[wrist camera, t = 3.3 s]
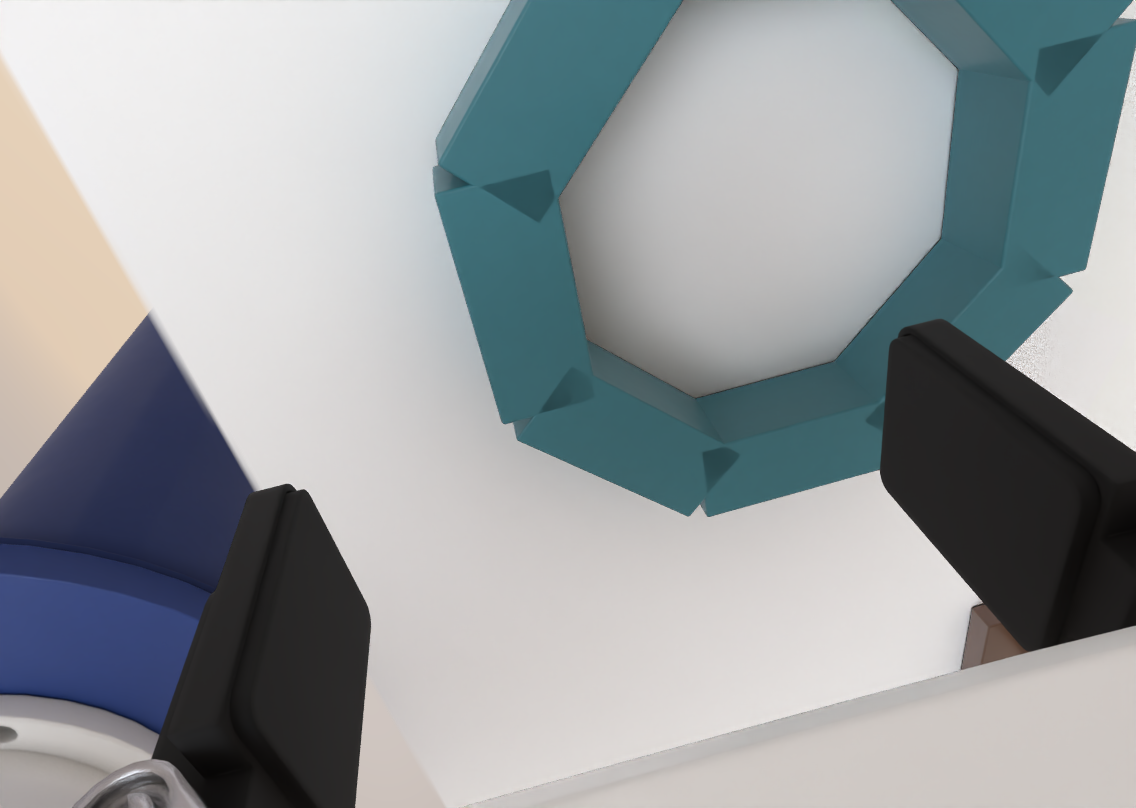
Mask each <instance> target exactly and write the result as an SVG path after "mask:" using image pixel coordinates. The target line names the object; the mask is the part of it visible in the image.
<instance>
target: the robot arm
mask: <svg viewBox="0 0 1136 808" xmlns="http://www.w3.org/2000/svg"><path fill="white" fill-rule="evenodd" d="M880 475H881V479H882V482H883V484H884V486H885V488H886V490H887V491H888V493H889V494H890V495H891V496H892V497H893V498H894V500H895V501H896V502H897V503H898V504H899V505H900V507H901V508H902V509H903V510H904V511H905V512H906V513H907V515H908V516H909V517H910V518H911V519H912V520H913V522H914V523H915V524H916V525H917V526H918V527H919V529H920V530H921V531H922V532H923V533H924V534H925V536H926V537H927V538H928V539H929V540H930V541H931V542H932V544H933V545H934V546H935V547H936V548H937V549H938V551H939V552H940V553H941V554H942V555H943V556H944V558H945V559H946V560H947V561H948V562H949V563H950V564H951V566H952V567H953V568H954V569H955V570H956V571H957V573H958V574H959V575H960V576H961V577H962V578H963V580H964V581H965V582H966V583H967V584H968V585H969V587H970V588H971V589H972V590H973V591H974V592H975V593H976V595H977V596H978V597H979V598H980V599H981V600H982V602H983V603H984V604H985V605H986V606H987V607H988V609H989V610H990V611H991V612H992V613H993V614H994V615H995V617H996V618H997V619H998V620H999V621H1000V622H1001V624H1002V625H1003V626H1004V627H1005V628H1006V629H1007V631H1008V632H1009V633H1010V634H1011V635H1012V636H1013V638H1014V639H1015V640H1016V641H1017V642H1018V643H1019V644H1020V645H1021V646H1022V647H1023V648H1024V649H1025V650H1026V651H1028V653H1024V654H1020V655H1017V656H1013V657H1009V658H1005V659H1002V660H998V661H994V662H990V663H987V664H983V665H979V666H975V667H972V668H968V669H964V670H961V671H957V672H953V673H949V674H946V675H942V676H938V677H934V678H931V679H927V680H923V681H919V682H916V683H912V684H908V685H904V686H901V687H897V688H893V689H889V690H886V691H882V692H878V693H874V694H871V695H867V696H863V697H859V698H856V699H852V700H848V701H845V702H841V703H837V704H834V705H830V706H826V707H823V708H819V709H815V710H811V711H808V712H804V713H800V714H797V715H793V716H789V717H786V718H782V719H778V720H775V721H771V722H767V723H764V724H760V725H756V726H753V727H749V728H745V729H742V730H738V731H734V732H731V733H727V734H723V735H720V736H716V737H712V738H709V739H705V740H701V741H698V742H694V743H691V744H687V745H683V746H680V747H676V748H672V749H669V750H665V751H661V752H658V753H654V754H650V755H647V756H643V757H639V758H636V759H632V760H629V761H625V762H621V763H618V764H614V765H611V766H607V767H603V768H600V769H596V770H593V771H589V772H585V773H582V774H578V775H575V776H571V777H568V778H564V779H560V780H557V781H553V782H550V783H546V784H542V785H539V786H535V787H532V788H528V789H524V790H521V791H517V792H514V793H510V794H506V795H503V796H499V797H496V798H492V799H489V800H485V801H481V802H478V803H474V804H471V805H467V806H463V807H460V808H1136V452H1135V451H1133V450H1132V449H1130V448H1129V447H1127V446H1126V445H1125V444H1123V443H1122V442H1120V441H1119V440H1117V439H1116V438H1114V437H1113V436H1112V435H1110V434H1109V433H1107V432H1106V431H1104V430H1103V429H1102V428H1100V427H1099V426H1097V425H1096V424H1094V423H1093V422H1091V421H1090V420H1089V419H1087V418H1086V417H1084V416H1083V415H1081V414H1080V413H1079V412H1077V411H1076V410H1074V409H1073V408H1071V407H1070V406H1068V405H1067V404H1066V403H1064V402H1063V401H1061V400H1060V399H1058V398H1057V397H1056V396H1054V395H1053V394H1051V393H1050V392H1048V391H1047V390H1046V389H1044V388H1043V387H1041V386H1040V385H1038V384H1037V383H1035V382H1034V381H1033V380H1031V379H1030V378H1028V377H1027V376H1025V375H1024V374H1023V373H1021V372H1020V371H1018V370H1017V369H1015V368H1014V367H1012V366H1011V365H1010V364H1008V363H1007V362H1005V361H1004V360H1002V359H1001V358H1000V357H998V356H997V355H995V354H994V353H992V352H991V351H989V350H988V349H987V348H985V347H984V346H982V345H981V344H979V343H978V342H977V341H975V340H974V339H972V338H971V337H969V336H968V335H966V334H965V333H964V332H962V331H961V330H959V329H958V328H956V327H955V326H954V325H952V324H951V323H949V322H948V321H946V320H944V319H934V320H930V321H926V322H922V323H918V324H915V325H911V326H907V327H904V328H903V329H901V330H900V332H899V334H898V338H896V339H894V340H892V341H891V343H890V346H889V355H888V368H887V381H886V394H885V408H884V421H883V434H882V448H881V461H880ZM370 632H371V619H370V613H369V609H368V606H367V604H366V602H365V600H364V598H363V596H362V594H361V592H360V590H359V588H358V586H357V584H356V582H355V580H354V579H353V577H352V575H351V573H350V571H349V569H348V567H347V565H346V563H345V561H344V559H343V557H342V556H341V554H340V552H339V550H338V548H337V546H336V544H335V542H334V540H333V538H332V536H331V534H330V533H329V531H328V529H327V527H326V525H325V523H324V521H323V519H322V517H321V515H320V513H319V511H318V510H317V508H316V506H315V504H314V502H313V500H312V498H311V496H310V495H309V493H308V492H307V491H306V490H299V491H296V489H295V488H294V487H293V486H292V485H291V484H284V485H280V486H276V487H272V488H268V489H264V490H260V491H256V492H253V493H251V494H249V496H248V498H247V500H246V503H245V506H244V509H243V512H242V515H241V518H240V521H239V524H238V527H237V530H236V532H235V535H234V538H233V541H232V544H231V547H230V550H229V553H228V556H227V559H226V562H225V565H224V568H223V571H222V574H221V577H220V580H219V582H218V585H217V588H216V591H214V592H213V593H212V594H211V595H210V596H209V598H208V600H207V602H206V604H205V606H204V609H203V612H202V615H201V618H200V620H199V623H198V626H197V629H196V632H195V635H194V638H193V641H192V643H191V646H190V649H189V652H188V655H187V658H186V661H185V663H184V666H183V669H182V672H181V675H180V678H179V681H178V683H177V686H176V689H175V692H174V695H173V698H172V701H171V703H170V706H169V709H168V712H167V715H166V718H165V721H164V724H163V726H162V729H161V732H160V735H159V734H157V733H155V732H154V731H152V730H150V729H148V728H146V727H145V726H143V725H141V724H139V723H137V722H136V721H133V720H131V719H128V718H125V717H123V716H120V715H117V714H115V713H112V712H110V711H107V710H104V709H101V708H97V707H93V706H88V705H84V704H80V703H76V702H72V701H68V700H62V699H54V698H46V697H39V696H31V695H11V694H0V808H355V801H356V788H357V777H358V767H359V756H360V745H361V733H362V722H363V711H364V699H365V688H366V677H367V666H368V654H369V643H370Z"/></svg>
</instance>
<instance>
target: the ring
mask: <svg viewBox="0 0 1136 808" xmlns="http://www.w3.org/2000/svg"><path fill="white" fill-rule="evenodd" d="M891 1H892V2H893V3H894V4H895V5H896V6H897V7H898V8H899V9H900V10H901V11H902V12H903V13H904V14H905V15H906V16H907V17H908V18H909V19H910V20H911V21H912V22H913V23H914V24H915V25H916V26H917V27H918V28H919V29H920V30H921V31H922V32H923V33H924V34H925V35H926V36H927V37H928V38H929V39H930V41H931V42H932V43H933V44H934V45H935V46H936V47H937V48H938V49H939V50H940V51H941V52H942V53H943V54H944V55H945V56H946V57H947V58H948V59H949V60H950V61H951V62H952V63H953V64H954V65H955V66H956V67H957V68H958V69H959V71H958V81H957V91H956V101H955V111H954V120H953V130H952V140H951V150H950V160H949V169H948V179H947V189H946V199H945V209H944V218H943V228H942V238H941V239H940V240H939V242H938V243H937V244H936V245H935V246H934V247H933V248H932V250H931V251H930V252H929V253H928V254H927V255H926V257H925V258H924V259H923V260H922V261H921V262H920V263H919V265H918V266H917V267H916V268H915V269H914V270H913V272H912V273H911V274H910V275H909V276H908V277H907V278H906V280H905V281H904V282H903V283H902V284H901V285H900V287H899V288H898V289H897V290H896V291H895V292H894V293H893V295H892V296H891V297H890V298H889V299H888V300H887V302H886V303H885V304H884V305H883V306H882V307H881V308H880V310H879V311H878V312H877V313H876V314H875V315H874V317H873V318H872V319H871V320H870V321H869V322H868V323H867V325H866V326H865V327H864V328H863V329H862V330H861V331H860V333H859V334H858V335H857V336H856V337H855V338H854V340H853V341H852V342H851V343H850V344H849V345H848V346H847V348H846V349H845V350H844V351H843V352H842V353H841V355H840V356H839V357H838V358H837V359H836V360H835V361H834V362H831V363H827V364H823V365H819V366H816V367H812V368H808V369H804V370H801V371H797V372H793V373H790V374H786V375H782V376H778V377H775V378H771V379H767V380H763V381H760V382H756V383H752V384H748V385H745V386H741V387H737V388H733V389H730V390H726V391H722V392H719V393H715V394H711V395H707V396H704V397H700V398H696V399H695V398H693V397H691V396H689V395H687V394H685V393H684V392H682V391H680V390H678V389H676V388H674V387H673V386H671V385H669V384H667V383H665V382H663V381H662V380H660V379H658V378H656V377H654V376H652V375H651V374H649V373H647V372H645V371H643V370H641V369H640V368H638V367H636V366H634V365H632V364H630V363H628V362H627V361H625V360H623V359H621V358H619V357H617V356H616V355H614V354H612V353H610V352H608V351H606V350H605V349H603V348H601V347H599V346H597V345H595V344H594V343H592V342H590V341H588V340H587V338H586V333H585V328H584V323H583V318H582V313H581V308H580V303H579V298H578V293H577V288H576V283H575V278H574V273H573V268H572V263H571V258H570V253H569V248H568V243H567V238H566V233H565V228H564V223H563V219H562V214H561V209H560V204H559V199H558V198H559V196H560V195H561V193H562V192H563V190H564V189H565V187H566V185H567V184H568V182H569V181H570V179H571V177H572V176H573V174H574V173H575V171H576V170H577V168H578V166H579V165H580V163H581V162H582V160H583V158H584V157H585V155H586V154H587V152H588V151H589V149H590V147H591V146H592V144H593V143H594V141H595V139H596V138H597V136H598V135H599V133H600V132H601V130H602V128H603V127H604V125H605V124H606V122H607V120H608V119H609V117H610V116H611V114H612V112H613V111H614V109H615V108H616V106H617V105H618V103H619V101H620V100H621V98H622V97H623V95H624V93H625V92H626V90H627V89H628V87H629V86H630V84H631V82H632V81H633V79H634V78H635V76H636V74H637V73H638V71H639V70H640V68H641V67H642V65H643V63H644V62H645V60H646V59H647V57H648V55H649V54H650V52H651V51H652V49H653V47H654V46H655V44H656V43H657V41H658V40H659V38H660V36H661V35H662V33H663V32H664V30H665V28H666V27H667V25H668V24H669V22H670V21H671V19H672V17H673V16H674V14H675V13H676V11H677V9H678V8H679V6H680V5H681V3H682V2H683V0H511V1H510V3H509V5H508V7H507V9H506V10H505V12H504V14H503V16H502V18H501V20H500V21H499V23H498V25H497V27H496V29H495V31H494V32H493V34H492V36H491V38H490V40H489V42H488V44H487V45H486V47H485V49H484V51H483V53H482V55H481V56H480V58H479V60H478V62H477V64H476V66H475V67H474V69H473V71H472V73H471V75H470V77H469V78H468V80H467V82H466V84H465V86H464V88H463V90H462V91H461V93H460V95H459V97H458V99H457V101H456V102H455V104H454V106H453V108H452V110H451V112H450V113H449V115H448V117H447V119H446V121H445V123H444V125H443V126H442V128H441V130H440V132H439V134H438V136H437V137H436V150H437V158H438V166H435V167H433V181H434V193H435V199H436V202H437V206H438V209H439V213H440V216H441V219H442V223H443V226H444V229H445V233H446V236H447V240H448V243H449V246H450V250H451V253H452V256H453V260H454V263H455V266H456V270H457V273H458V277H459V280H460V283H461V287H462V290H463V293H464V297H465V300H466V304H467V307H468V310H469V314H470V317H471V320H472V324H473V327H474V330H475V334H476V337H477V341H478V344H479V347H480V351H481V354H482V357H483V361H484V364H485V368H486V371H487V374H488V378H489V381H490V384H491V388H492V391H493V394H494V398H495V401H496V405H497V408H498V411H499V415H500V418H501V421H502V423H503V424H508V423H512V422H513V424H514V429H515V434H516V438H517V440H518V441H520V442H522V443H525V444H527V445H529V446H531V447H534V448H536V449H538V450H540V451H542V452H545V453H547V454H549V455H551V456H554V457H556V458H558V459H560V460H563V461H565V462H567V463H569V464H572V465H574V466H576V467H578V468H581V469H583V470H585V471H587V472H589V473H592V474H594V475H596V476H598V477H601V478H603V479H605V480H607V481H610V482H612V483H614V484H616V485H619V486H621V487H623V488H625V489H628V490H630V491H632V492H634V493H636V494H639V495H641V496H643V497H645V498H648V499H650V500H652V501H654V502H657V503H659V504H661V505H663V506H666V507H668V508H670V509H672V510H675V511H677V512H679V513H681V514H684V515H686V516H690V515H691V514H692V513H693V512H694V510H695V509H696V508H697V507H698V506H699V505H701V506H702V508H703V510H704V512H705V514H706V515H707V517H711V516H714V515H718V514H721V513H725V512H729V511H732V510H736V509H739V508H743V507H747V506H750V505H754V504H758V503H761V502H765V501H768V500H772V499H776V498H779V497H783V496H786V495H790V494H794V493H797V492H801V491H804V490H808V489H812V488H815V487H819V486H822V485H826V484H830V483H833V482H837V481H840V480H844V479H848V478H851V477H855V476H859V475H862V474H866V473H869V472H873V471H877V470H880V461H881V448H882V434H883V421H884V408H885V394H886V381H887V368H888V355H889V346H890V343H891V341H892V340H894V339H896V338H898V334H899V332H900V330H901V329H903V328H904V327H907V326H911V325H915V324H918V323H922V322H926V321H930V320H934V319H944V320H946V321H948V322H949V323H951V324H952V325H954V326H955V327H956V328H958V329H959V330H961V331H962V332H964V333H965V334H966V335H968V336H969V337H971V338H972V339H974V340H975V341H977V342H978V343H979V344H981V345H982V346H984V347H985V348H987V349H988V350H989V351H991V352H992V353H994V354H995V355H997V356H998V357H1000V358H1001V359H1002V360H1004V361H1006V360H1007V359H1008V358H1009V357H1010V356H1011V355H1012V354H1013V353H1014V352H1015V351H1016V350H1017V349H1018V348H1019V347H1020V346H1021V345H1022V344H1023V343H1024V342H1025V341H1026V340H1027V339H1028V337H1029V336H1030V335H1031V334H1032V333H1033V332H1034V331H1035V330H1036V329H1037V328H1038V327H1039V326H1040V325H1041V324H1042V323H1043V322H1044V321H1045V320H1046V319H1047V318H1048V317H1049V316H1050V315H1051V314H1052V313H1053V312H1054V311H1055V310H1056V309H1057V308H1058V307H1059V306H1060V305H1061V304H1062V303H1063V302H1064V301H1065V299H1066V298H1067V297H1068V296H1069V295H1070V294H1071V293H1072V292H1073V290H1072V289H1071V288H1070V287H1069V286H1068V285H1067V284H1066V283H1065V282H1064V281H1063V280H1062V279H1060V278H1059V277H1060V276H1064V275H1068V274H1072V273H1075V272H1079V271H1083V270H1085V269H1086V267H1087V262H1088V258H1089V253H1090V249H1091V244H1092V240H1093V235H1094V231H1095V226H1096V222H1097V217H1098V213H1099V209H1100V204H1101V200H1102V195H1103V191H1104V186H1105V182H1106V177H1107V173H1108V168H1109V164H1110V159H1111V155H1112V151H1113V146H1114V142H1115V137H1116V133H1117V128H1118V124H1119V119H1120V115H1121V110H1122V106H1123V102H1124V97H1125V93H1126V88H1127V84H1128V79H1129V75H1130V70H1131V66H1132V61H1133V57H1134V52H1135V48H1136V19H1124V18H1119V16H1120V15H1121V14H1122V13H1123V12H1124V11H1125V9H1126V8H1127V7H1128V6H1129V5H1130V4H1131V2H1132V1H1133V0H891Z"/></svg>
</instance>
